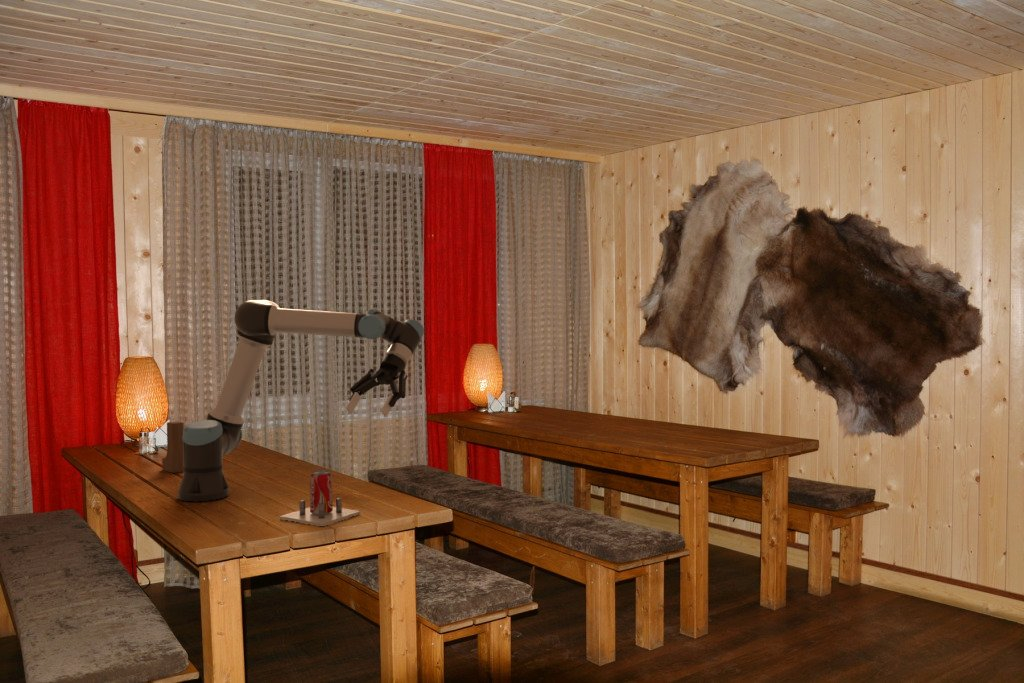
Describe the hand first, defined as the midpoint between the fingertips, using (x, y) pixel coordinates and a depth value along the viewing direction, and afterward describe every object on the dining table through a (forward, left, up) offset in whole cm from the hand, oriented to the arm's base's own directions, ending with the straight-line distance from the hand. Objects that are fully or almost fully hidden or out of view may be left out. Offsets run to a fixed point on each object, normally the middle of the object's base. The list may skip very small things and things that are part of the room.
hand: (365, 412), depth 261 cm
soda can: (+5, -20, -27) cm, 34 cm away
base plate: (+5, -20, -28) cm, 34 cm away
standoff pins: (+5, -20, -28) cm, 34 cm away
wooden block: (-90, -21, -28) cm, 96 cm away
